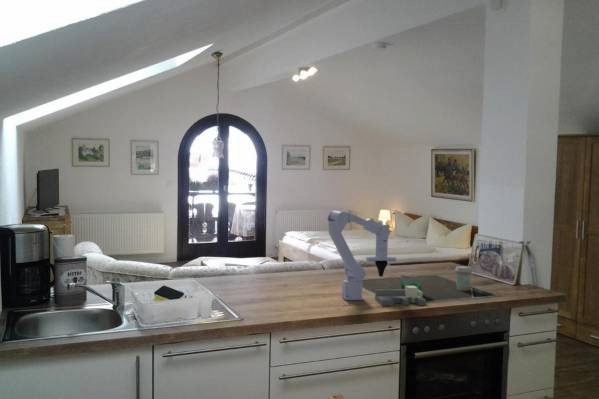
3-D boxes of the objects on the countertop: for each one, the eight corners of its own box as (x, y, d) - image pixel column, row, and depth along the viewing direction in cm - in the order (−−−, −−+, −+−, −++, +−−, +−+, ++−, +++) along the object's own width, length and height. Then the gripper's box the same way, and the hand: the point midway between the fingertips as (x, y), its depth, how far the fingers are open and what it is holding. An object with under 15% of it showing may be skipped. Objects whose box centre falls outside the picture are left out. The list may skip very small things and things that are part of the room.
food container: (403, 297, 275) (404, 277, 274) (399, 294, 281) (399, 274, 280) (427, 296, 277) (428, 276, 276) (422, 293, 283) (423, 274, 282)
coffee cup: (461, 292, 289) (462, 268, 288) (450, 288, 297) (451, 266, 296) (474, 290, 292) (475, 268, 291) (464, 287, 300) (465, 265, 299)
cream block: (408, 297, 264) (408, 287, 264) (404, 295, 269) (405, 285, 268) (417, 297, 265) (417, 287, 265) (413, 295, 269) (414, 285, 269)
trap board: (382, 305, 257) (382, 295, 257) (375, 299, 268) (375, 289, 268) (425, 304, 260) (426, 294, 260) (417, 299, 271) (417, 289, 271)
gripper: (369, 249, 270) (368, 277, 271) (398, 249, 272) (397, 277, 273) (365, 247, 277) (364, 274, 278) (393, 247, 279) (393, 274, 280)
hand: (380, 276), depth 276 cm, fingers closed
